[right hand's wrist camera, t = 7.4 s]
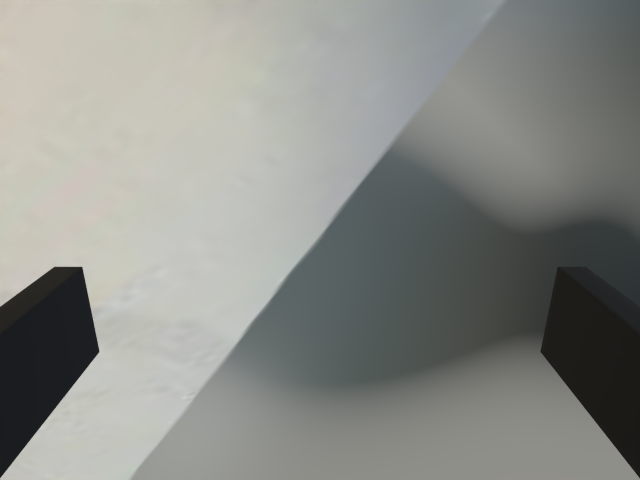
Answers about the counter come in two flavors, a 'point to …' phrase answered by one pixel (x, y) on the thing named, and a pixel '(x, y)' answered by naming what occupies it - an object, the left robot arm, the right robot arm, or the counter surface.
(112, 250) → the counter surface
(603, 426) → the right robot arm
